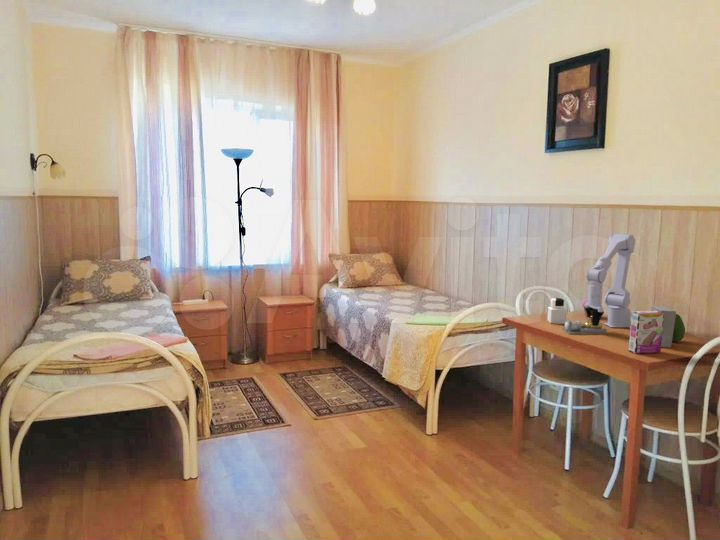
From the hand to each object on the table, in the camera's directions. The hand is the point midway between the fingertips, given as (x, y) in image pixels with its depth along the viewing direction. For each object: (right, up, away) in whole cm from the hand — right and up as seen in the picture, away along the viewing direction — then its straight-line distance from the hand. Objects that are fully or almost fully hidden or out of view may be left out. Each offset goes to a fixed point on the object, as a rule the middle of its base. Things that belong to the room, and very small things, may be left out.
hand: (593, 324), depth 250 cm
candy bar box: (+7, -8, -32) cm, 34 cm away
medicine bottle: (-10, -1, +19) cm, 22 cm away
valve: (0, -3, 0) cm, 3 cm away
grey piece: (-4, -3, 0) cm, 5 cm away
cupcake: (+12, 0, +32) cm, 34 cm away
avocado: (+28, -6, -16) cm, 32 cm away
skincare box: (+19, -7, -21) cm, 29 cm away
